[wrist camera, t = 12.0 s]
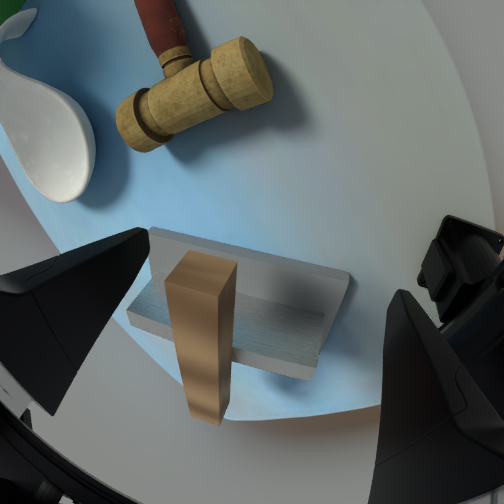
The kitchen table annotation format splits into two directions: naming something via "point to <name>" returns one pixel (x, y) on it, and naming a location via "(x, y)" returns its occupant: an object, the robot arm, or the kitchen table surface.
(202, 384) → the walnut batten
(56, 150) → the spoon rest
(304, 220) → the kitchen table surface
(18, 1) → the hardback book
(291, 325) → the steel ridge
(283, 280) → the board
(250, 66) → the gavel
